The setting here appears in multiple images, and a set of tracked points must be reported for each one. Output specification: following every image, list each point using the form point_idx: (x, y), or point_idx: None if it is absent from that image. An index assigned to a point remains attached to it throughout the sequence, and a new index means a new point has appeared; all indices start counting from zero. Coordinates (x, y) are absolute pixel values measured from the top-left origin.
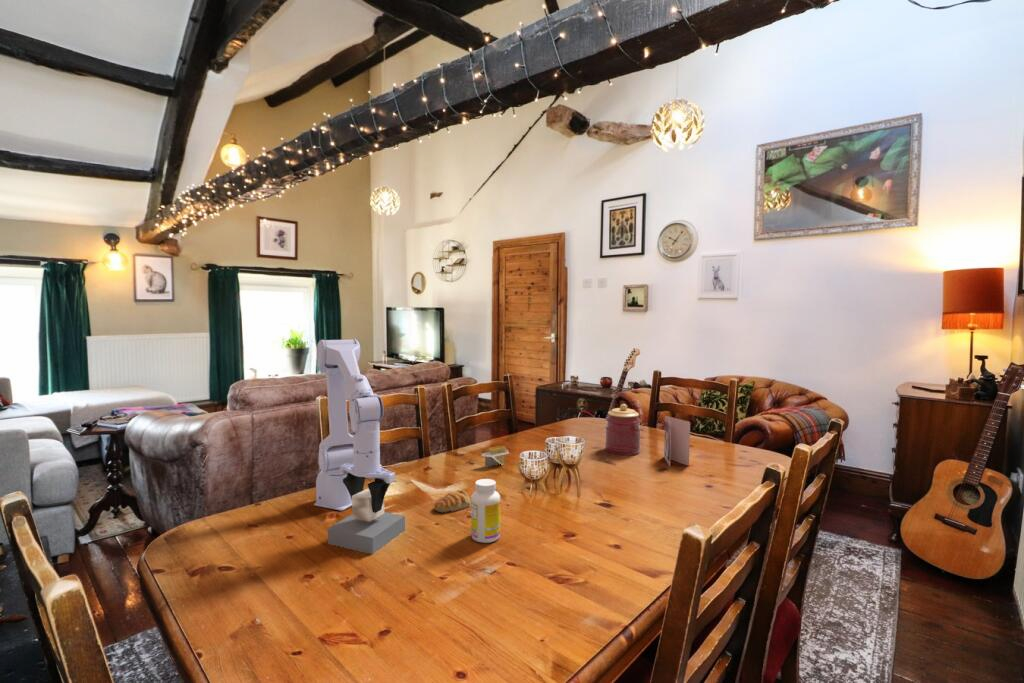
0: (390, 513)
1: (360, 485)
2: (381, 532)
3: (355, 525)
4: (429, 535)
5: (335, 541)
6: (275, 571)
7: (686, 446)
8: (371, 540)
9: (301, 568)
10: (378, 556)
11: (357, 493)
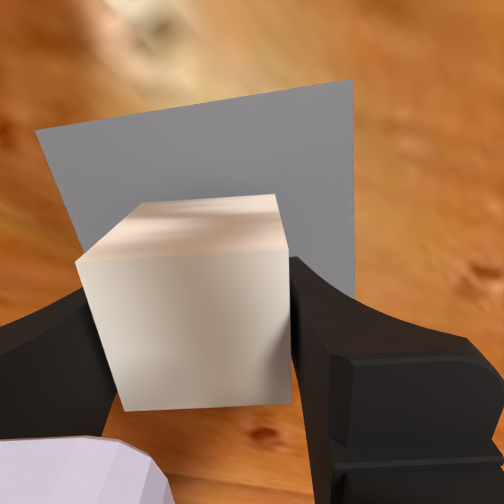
0: (246, 103)
1: (63, 374)
2: (353, 288)
3: None
4: (478, 61)
5: None
6: (173, 452)
7: None
8: None
9: (214, 424)
10: (364, 301)
11: (114, 370)
